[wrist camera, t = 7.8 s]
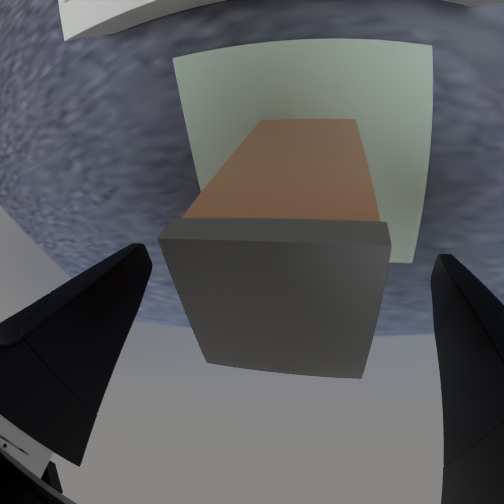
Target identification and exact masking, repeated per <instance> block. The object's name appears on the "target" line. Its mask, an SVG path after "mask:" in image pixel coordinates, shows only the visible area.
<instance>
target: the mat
mask: <svg viewBox="0 0 504 504" xmlns="http://www.w3.org/2000/svg"><path fill="white" fill-rule="evenodd" d="M172 59H173V64H174V69H175V74H176V79H177V84H178V89H179V94H180V99H181V104H182V109H183V114H184V119H185V123H186V128H187V133H188V137H189V142H190V146H191V151H192V156H193V160H194V164H195V169H196V173H197V178H198V182H199V186H200V191H201V192H202V190H203V189H204V188H205V187H206V185H207V184H208V183H209V182H210V180H211V179H212V178H213V177H214V175H215V174H216V173H217V172H218V170H219V169H220V168H221V167H222V166H223V164H224V163H225V162H226V161H227V160H228V158H229V157H230V156H231V155H232V153H233V152H234V151H235V150H236V149H237V148H238V146H239V145H240V144H241V143H242V142H243V140H244V139H245V138H246V137H247V136H248V135H249V134H250V132H251V131H252V130H253V129H254V128H255V127H256V125H257V124H258V123H259V122H260V121H264V120H284V119H355V120H356V123H357V127H358V130H359V134H360V137H361V141H362V144H363V148H364V152H365V155H366V159H367V163H368V167H369V171H370V175H371V179H372V183H373V188H374V192H375V197H376V201H377V206H378V211H379V216H380V221H381V222H387V225H388V230H389V235H390V240H391V245H392V248H391V254H390V260H389V262H392V263H412V262H413V257H414V253H415V248H416V243H417V238H418V233H419V228H420V222H421V216H422V210H423V204H424V197H425V190H426V183H427V175H428V166H429V156H430V145H431V131H432V111H433V56H432V46H430V45H423V44H416V43H407V42H398V41H386V40H371V39H300V40H285V41H273V42H263V43H254V44H246V45H239V46H232V47H226V48H220V49H214V50H209V51H204V52H199V53H194V54H189V55H185V56H180V57H176V58H172Z"/></svg>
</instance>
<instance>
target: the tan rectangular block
mask: <svg viewBox="0 0 504 504" xmlns="http://www.w3.org/2000/svg"><path fill="white" fill-rule="evenodd" d="M158 241H159V244H160V247H161V250H162V252H163V255H164V258H165V261H166V263H167V266H168V269H169V271H170V274H171V277H172V279H173V282H174V285H175V287H176V290H177V292H178V295H179V297H180V300H181V302H182V305H183V307H184V310H185V312H186V315H187V317H188V320H189V322H190V325H191V327H192V329H193V332H194V334H195V336H196V339H197V341H198V343H199V346H200V348H201V350H202V353H203V355H204V357H205V359H206V362H207V363H212V364H218V365H224V366H231V367H238V368H245V369H252V370H260V371H268V372H277V373H286V374H296V375H308V376H321V377H336V378H357V379H361V378H362V375H363V372H364V369H365V365H366V362H367V358H368V354H369V351H370V347H371V343H372V339H373V335H374V331H375V327H376V323H377V319H378V315H379V310H380V306H381V301H382V297H383V292H384V287H385V282H386V277H387V271H388V266H389V260H390V254H391V248H392V245H391V240H390V235H389V230H388V225H387V222H381V221H380V216H379V211H378V206H377V201H376V197H375V192H374V188H373V183H372V179H371V175H370V171H369V167H368V163H367V159H366V155H365V152H364V148H363V144H362V141H361V137H360V134H359V130H358V127H357V123H356V120H355V119H284V120H264V121H260V122H259V123H258V124H257V125H256V127H255V128H254V129H253V130H252V131H251V132H250V134H249V135H248V136H247V137H246V138H245V139H244V140H243V142H242V143H241V144H240V145H239V146H238V148H237V149H236V150H235V151H234V152H233V153H232V155H231V156H230V157H229V158H228V160H227V161H226V162H225V163H224V164H223V166H222V167H221V168H220V169H219V170H218V172H217V173H216V174H215V175H214V177H213V178H212V179H211V180H210V182H209V183H208V184H207V185H206V187H205V188H204V189H203V190H202V192H201V193H200V194H199V195H198V197H197V198H196V199H195V201H194V202H193V203H192V204H191V206H190V207H189V208H188V210H187V211H186V212H185V214H184V215H183V216H182V217H181V218H173V219H172V220H171V222H170V223H169V224H168V226H167V227H166V228H165V229H164V231H163V232H162V233H161V235H160V236H159V237H158Z"/></svg>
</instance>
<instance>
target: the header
mask: <svg viewBox="0 0 504 504" xmlns="http://www.w3.org/2000/svg"><path fill="white" fill-rule="evenodd" d="M221 1H226V0H58V2H59V9H60V16H61V22H62V29H63V34H64V40H65V41H67V40H73V39H79V38H85V37H91V36H98V35H106V34H115V33H118V32H120V31H123V30H125V29H128V28H130V27H133V26H136V25H139V24H141V23H144V22H147V21H150V20H153V19H156V18H159V17H163V16H166V15H169V14H173V13H176V12H180V11H183V10H187V9H191V8H195V7H199V6H203V5H207V4H212V3H217V2H221ZM442 1H447V2H452V3H456V4H460V5H464V6H468V7H476V6H483V5H490V4H499V3H504V0H442Z"/></svg>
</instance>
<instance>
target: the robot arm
mask: <svg viewBox="0 0 504 504" xmlns="http://www.w3.org/2000/svg"><path fill="white" fill-rule="evenodd" d="M151 271H152V262H151V259H150V257H149V254H148V252H147V249H146V247H145V245H144V244H141V243H133V244H130V245H129V246H127V247H125V248H123V249H122V250H120V251H118V252H116V253H115V254H113V255H111V256H109V257H108V258H106V259H104V260H103V261H101V262H99V263H98V264H96V265H94V266H92V267H91V268H89V269H87V270H86V271H84V272H82V273H81V274H79V275H78V276H76V277H74V278H73V279H71V280H69V281H68V282H66V283H64V284H63V285H62V286H60V287H58V288H56V289H55V290H53V291H52V292H51V293H50V294H47V295H45V296H44V297H42V298H41V299H39V300H37V301H36V302H34V303H33V304H31V305H30V306H28V307H26V308H24V309H23V310H21V311H19V312H18V313H16V314H14V315H13V316H11V317H9V318H8V319H6V320H4V321H3V322H1V323H0V504H76V503H75V502H73V501H72V500H70V499H68V498H67V497H65V496H64V495H62V492H63V491H62V488H61V484H60V481H59V477H58V473H57V469H56V465H55V463H53V462H52V461H50V458H51V456H52V454H53V452H54V453H56V454H58V455H60V456H61V457H63V458H64V459H66V460H68V461H70V462H71V463H73V464H75V465H77V466H80V465H81V462H82V459H83V456H84V453H85V449H86V447H87V443H88V440H89V437H90V434H91V431H92V428H93V425H94V422H95V419H96V417H97V413H98V410H99V407H100V405H101V402H102V399H103V397H104V394H105V391H106V388H107V386H108V383H109V380H110V378H111V375H112V372H113V370H114V368H115V365H116V362H117V360H118V357H119V355H120V352H121V350H122V347H123V345H124V343H125V340H126V338H127V335H128V333H129V331H130V328H131V326H132V324H133V321H134V319H135V317H136V314H137V312H138V309H139V307H140V304H141V301H142V298H143V295H144V292H145V289H146V286H147V283H148V280H149V277H150V274H151ZM431 291H432V303H433V318H434V332H435V339H436V346H437V353H438V361H439V370H440V379H441V391H442V406H443V424H444V425H443V427H444V467H443V485H442V499H441V504H504V305H503V304H502V303H501V302H500V301H499V300H498V298H497V297H496V296H495V295H494V294H493V293H492V292H491V291H490V290H489V289H488V288H487V287H486V286H485V285H484V284H483V283H482V282H481V281H479V280H478V279H477V278H476V277H475V276H474V275H473V274H472V273H471V272H470V271H469V270H468V269H467V268H466V267H465V266H464V265H463V264H462V263H460V262H459V261H458V260H457V259H456V258H455V257H454V256H453V255H451V254H439V255H438V256H437V258H436V261H435V265H434V269H433V272H432V276H431Z"/></svg>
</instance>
